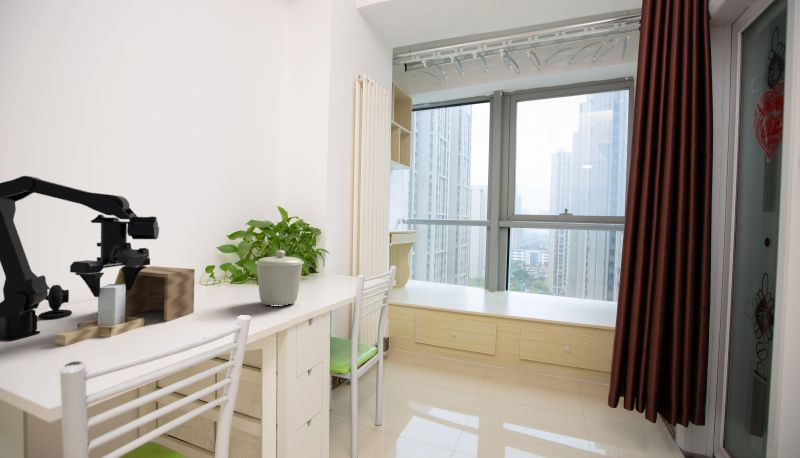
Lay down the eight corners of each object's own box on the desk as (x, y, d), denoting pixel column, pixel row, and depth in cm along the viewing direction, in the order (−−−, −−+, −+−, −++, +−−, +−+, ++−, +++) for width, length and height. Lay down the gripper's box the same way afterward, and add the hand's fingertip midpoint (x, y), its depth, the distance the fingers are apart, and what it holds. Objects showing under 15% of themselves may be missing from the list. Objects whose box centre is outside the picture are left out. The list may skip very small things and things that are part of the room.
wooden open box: (166, 321, 107) (167, 274, 107) (120, 317, 110) (121, 270, 110) (193, 312, 118) (194, 269, 118) (150, 308, 121) (151, 266, 121)
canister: (279, 296, 147) (281, 247, 146) (312, 302, 138) (314, 250, 138) (243, 305, 130) (244, 249, 130) (278, 312, 122) (279, 253, 122)
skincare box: (108, 324, 101) (109, 283, 101) (125, 323, 102) (126, 283, 102) (96, 330, 95) (97, 287, 95) (114, 330, 96) (116, 287, 96)
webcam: (71, 317, 108) (71, 285, 108) (36, 321, 103) (37, 288, 103) (72, 311, 114) (72, 281, 113) (40, 315, 109) (40, 284, 109)
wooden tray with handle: (78, 347, 85) (78, 336, 85) (42, 342, 87) (42, 332, 87) (144, 326, 103) (144, 318, 103) (113, 323, 105) (113, 314, 105)
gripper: (104, 242, 88) (104, 303, 88) (165, 238, 106) (165, 289, 107) (68, 240, 90) (68, 300, 90) (135, 237, 108) (134, 286, 108)
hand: (113, 293), depth 99 cm, fingers open, 9 cm apart
